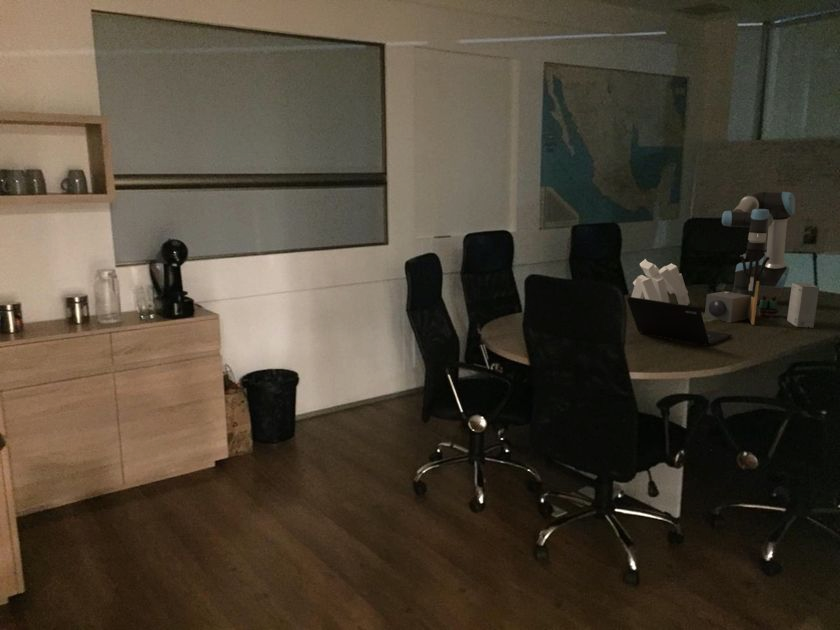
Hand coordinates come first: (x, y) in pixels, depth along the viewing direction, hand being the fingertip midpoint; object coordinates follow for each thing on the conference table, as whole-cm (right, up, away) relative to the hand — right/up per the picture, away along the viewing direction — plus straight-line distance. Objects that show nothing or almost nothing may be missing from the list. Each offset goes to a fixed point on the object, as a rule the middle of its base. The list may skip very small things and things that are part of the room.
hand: (750, 290), depth 323 cm
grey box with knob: (-4, -14, +17) cm, 22 cm away
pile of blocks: (-31, -9, +38) cm, 50 cm away
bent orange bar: (+5, -15, +8) cm, 18 cm away
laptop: (-45, -23, -24) cm, 56 cm away
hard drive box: (+27, -17, +5) cm, 32 cm away
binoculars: (+20, -13, +22) cm, 32 cm away
